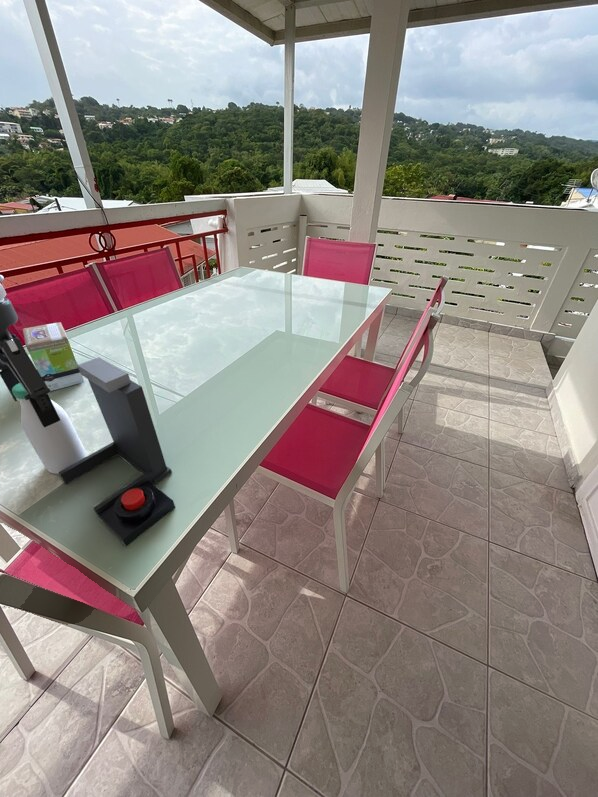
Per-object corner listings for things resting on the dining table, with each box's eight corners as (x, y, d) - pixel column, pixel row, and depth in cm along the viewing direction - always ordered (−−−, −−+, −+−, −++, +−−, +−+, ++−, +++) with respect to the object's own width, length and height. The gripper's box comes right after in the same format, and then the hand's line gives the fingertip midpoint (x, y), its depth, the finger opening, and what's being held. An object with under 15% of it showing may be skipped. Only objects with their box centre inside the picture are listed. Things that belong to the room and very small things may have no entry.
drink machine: (102, 522, 60) (47, 419, 47) (62, 481, 68) (5, 382, 54) (172, 473, 70) (143, 376, 57) (130, 442, 78) (96, 350, 64)
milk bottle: (94, 458, 74) (58, 382, 62) (58, 480, 68) (11, 401, 57) (75, 445, 77) (38, 370, 66) (39, 465, 72) (-8, 388, 60)
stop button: (130, 514, 58) (128, 508, 57) (119, 504, 59) (116, 497, 58) (149, 500, 60) (146, 494, 59) (138, 491, 62) (135, 485, 61)
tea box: (86, 382, 100) (67, 336, 91) (47, 393, 95) (23, 346, 86) (78, 362, 109) (60, 320, 101) (42, 371, 104) (20, 327, 96)
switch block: (126, 546, 56) (119, 533, 54) (102, 522, 60) (95, 508, 58) (175, 507, 63) (171, 493, 61) (151, 487, 67) (146, 474, 65)
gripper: (38, 312, 49) (87, 424, 60) (-18, 282, 61) (32, 381, 73) (-25, 327, 44) (42, 446, 55) (-73, 292, 56) (-10, 396, 68)
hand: (36, 410), depth 64 cm, fingers open, 13 cm apart
